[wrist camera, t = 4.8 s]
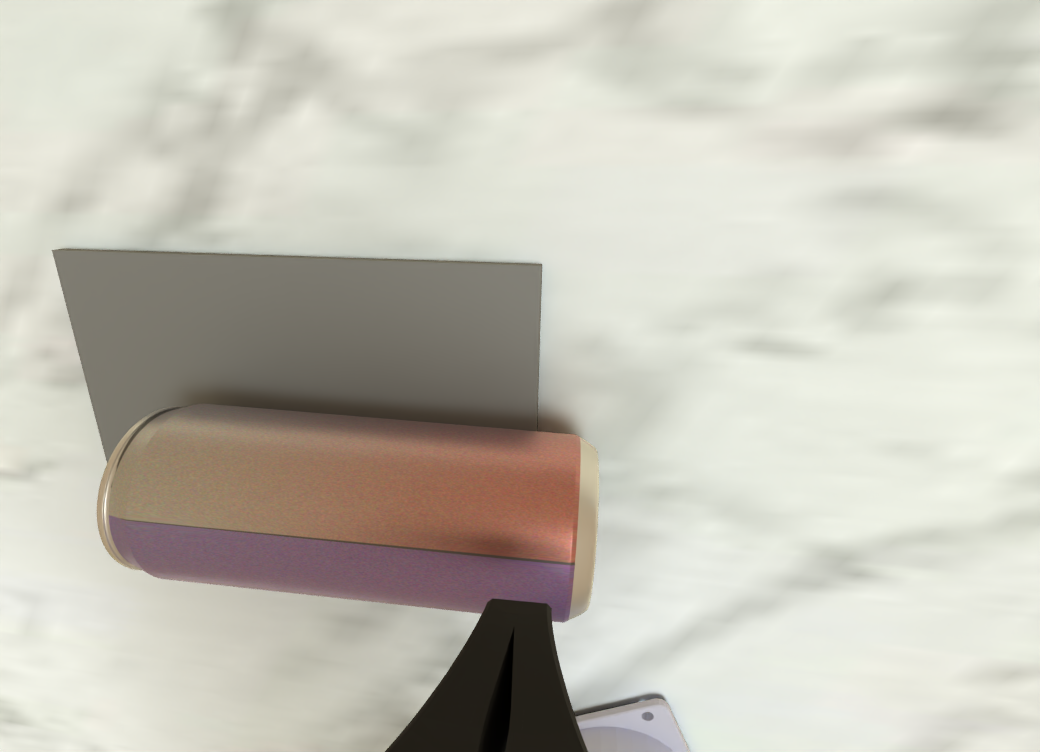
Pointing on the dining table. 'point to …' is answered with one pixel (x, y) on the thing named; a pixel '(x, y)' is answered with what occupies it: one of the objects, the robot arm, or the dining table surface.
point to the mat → (304, 336)
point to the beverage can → (355, 507)
